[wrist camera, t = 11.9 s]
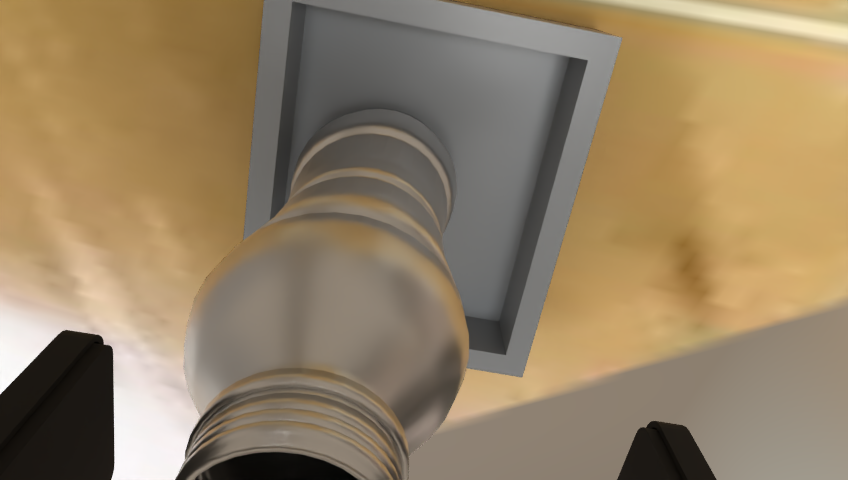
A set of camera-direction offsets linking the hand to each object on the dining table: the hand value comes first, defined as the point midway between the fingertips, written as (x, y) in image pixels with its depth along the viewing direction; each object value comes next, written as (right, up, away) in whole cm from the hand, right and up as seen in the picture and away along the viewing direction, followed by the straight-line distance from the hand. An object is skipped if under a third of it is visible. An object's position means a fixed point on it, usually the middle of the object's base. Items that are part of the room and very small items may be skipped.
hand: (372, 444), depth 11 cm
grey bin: (0, +7, +18) cm, 19 cm away
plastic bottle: (-1, +7, +17) cm, 19 cm away
